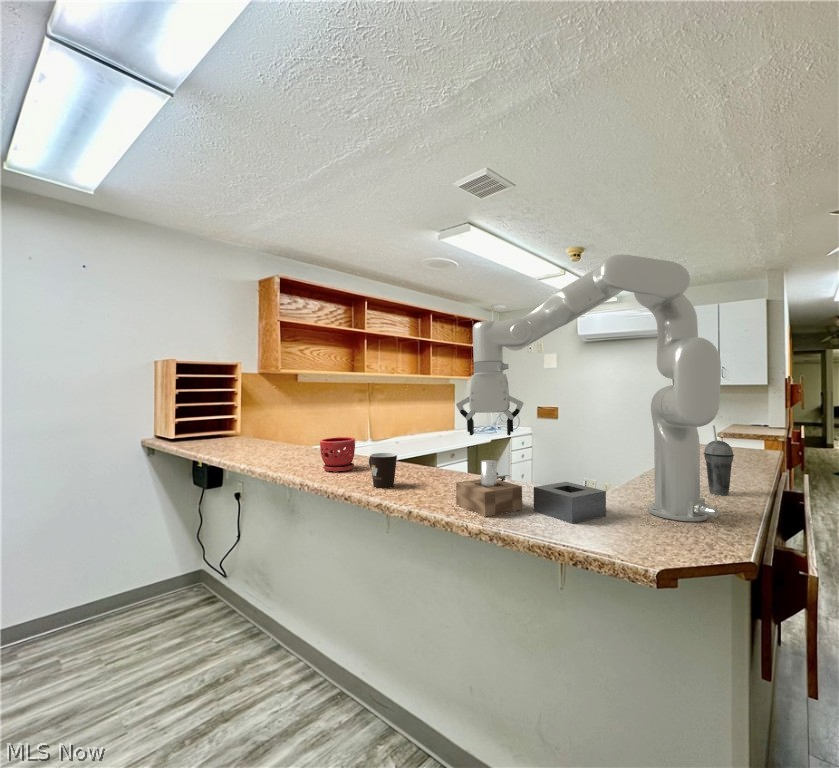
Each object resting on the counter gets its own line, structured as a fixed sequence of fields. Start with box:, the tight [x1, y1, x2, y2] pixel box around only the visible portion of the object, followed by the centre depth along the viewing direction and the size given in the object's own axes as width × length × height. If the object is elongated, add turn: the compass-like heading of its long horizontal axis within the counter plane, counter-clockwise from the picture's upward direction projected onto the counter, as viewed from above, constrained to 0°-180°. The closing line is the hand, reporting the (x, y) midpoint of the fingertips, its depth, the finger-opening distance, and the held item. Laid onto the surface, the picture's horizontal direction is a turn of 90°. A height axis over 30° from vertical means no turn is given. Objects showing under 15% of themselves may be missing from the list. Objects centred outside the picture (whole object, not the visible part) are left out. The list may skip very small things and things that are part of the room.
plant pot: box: [319, 436, 356, 473], centre depth 161 cm, size 13×13×12 cm
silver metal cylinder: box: [480, 459, 498, 488], centre depth 110 cm, size 4×4×12 cm
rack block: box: [455, 478, 523, 518], centre depth 110 cm, size 12×12×6 cm
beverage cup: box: [703, 424, 735, 497], centre depth 123 cm, size 7×7×20 cm
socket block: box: [533, 481, 607, 525], centre depth 105 cm, size 12×12×6 cm
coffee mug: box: [368, 452, 398, 489], centre depth 135 cm, size 12×9×10 cm
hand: (490, 434), depth 110 cm, fingers open, 9 cm apart
